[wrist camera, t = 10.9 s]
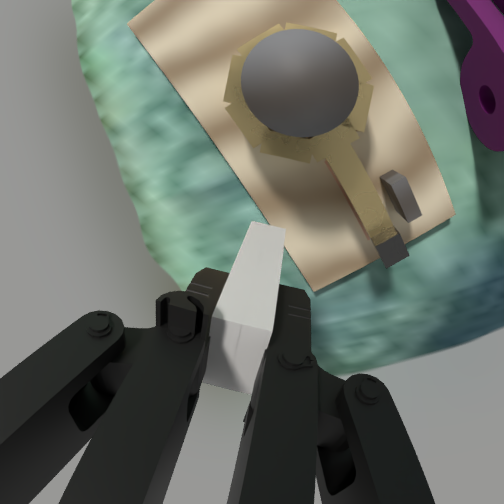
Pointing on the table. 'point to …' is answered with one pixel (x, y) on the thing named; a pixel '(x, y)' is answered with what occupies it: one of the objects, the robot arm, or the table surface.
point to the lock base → (281, 178)
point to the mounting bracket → (484, 69)
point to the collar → (323, 146)
